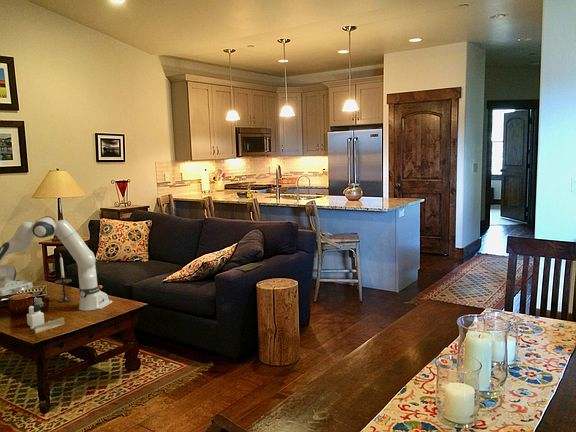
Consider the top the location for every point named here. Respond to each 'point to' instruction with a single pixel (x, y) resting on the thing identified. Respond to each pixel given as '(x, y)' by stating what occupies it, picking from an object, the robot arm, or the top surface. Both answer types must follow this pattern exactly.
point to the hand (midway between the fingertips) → (21, 290)
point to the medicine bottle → (35, 316)
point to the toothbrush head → (38, 301)
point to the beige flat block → (48, 325)
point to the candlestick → (63, 283)
